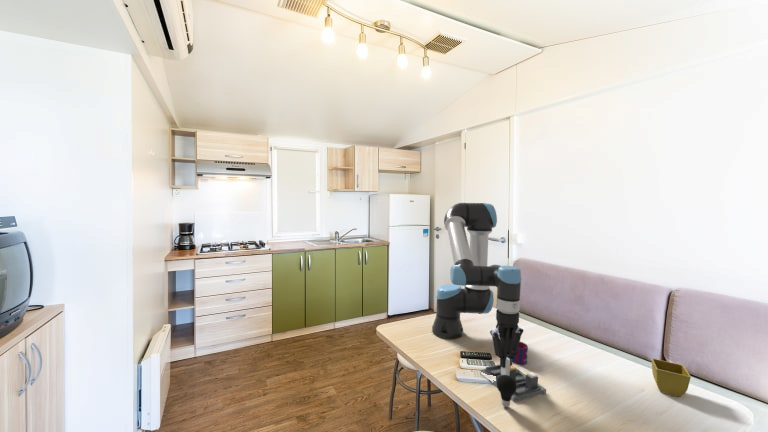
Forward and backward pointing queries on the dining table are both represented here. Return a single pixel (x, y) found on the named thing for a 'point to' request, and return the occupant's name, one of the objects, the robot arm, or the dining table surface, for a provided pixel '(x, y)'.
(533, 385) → the breaker
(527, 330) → the dining table surface
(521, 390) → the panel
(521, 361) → the mug
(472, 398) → the dining table surface
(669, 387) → the flower pot
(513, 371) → the block
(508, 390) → the light bulb
